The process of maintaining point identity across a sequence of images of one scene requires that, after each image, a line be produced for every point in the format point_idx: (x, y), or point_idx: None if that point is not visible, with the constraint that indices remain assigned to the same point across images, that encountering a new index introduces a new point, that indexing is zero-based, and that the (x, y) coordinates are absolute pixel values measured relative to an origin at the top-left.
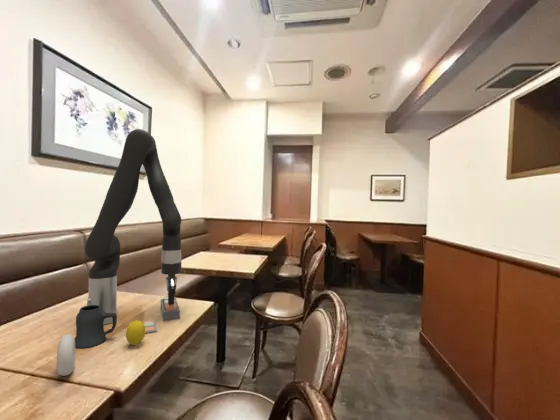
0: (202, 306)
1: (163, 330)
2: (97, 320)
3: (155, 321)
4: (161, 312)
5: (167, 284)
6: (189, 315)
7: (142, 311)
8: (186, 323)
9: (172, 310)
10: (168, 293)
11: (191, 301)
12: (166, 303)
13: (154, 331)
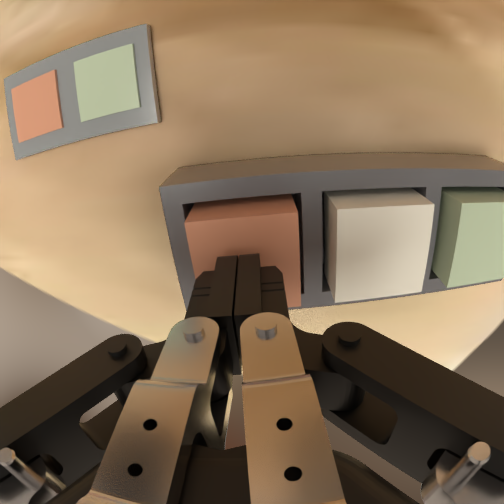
0: None
1: (39, 190)
2: None
3: (153, 119)
4: (366, 153)
5: (98, 479)
6: None
7: (446, 27)
8: (120, 308)
9: (189, 265)
10: (110, 354)
11: (475, 332)
12: (335, 223)
13: (15, 146)
